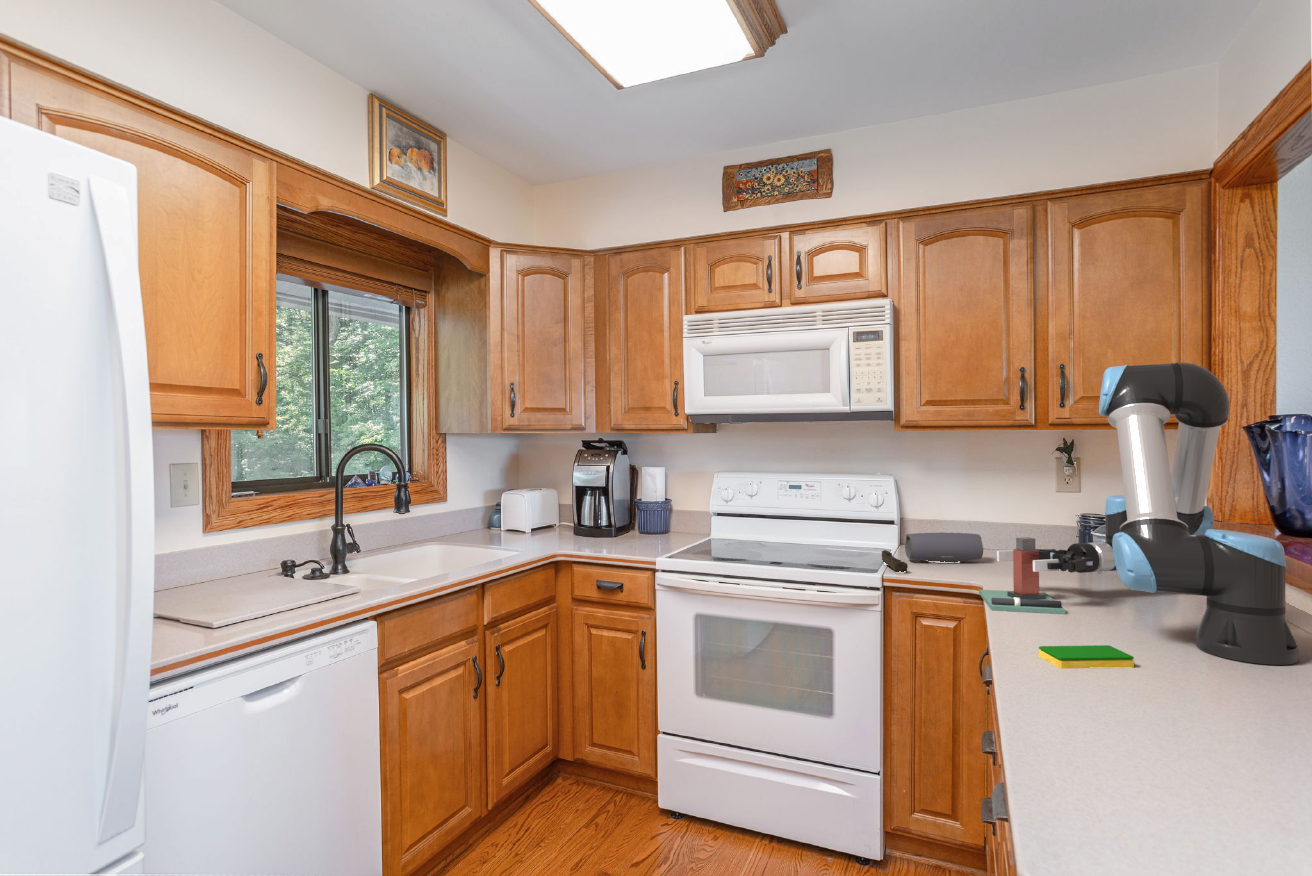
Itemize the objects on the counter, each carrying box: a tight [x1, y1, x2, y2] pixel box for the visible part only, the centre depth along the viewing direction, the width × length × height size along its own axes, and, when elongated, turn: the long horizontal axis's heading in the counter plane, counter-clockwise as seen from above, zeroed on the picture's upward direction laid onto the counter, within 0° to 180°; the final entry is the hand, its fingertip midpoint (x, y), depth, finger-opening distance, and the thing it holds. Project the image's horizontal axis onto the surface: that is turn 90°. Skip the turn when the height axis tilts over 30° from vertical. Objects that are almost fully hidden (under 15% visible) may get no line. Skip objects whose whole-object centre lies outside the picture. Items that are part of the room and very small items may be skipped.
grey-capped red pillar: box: [1006, 537, 1047, 600], centre depth 173 cm, size 5×7×15 cm
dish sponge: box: [1038, 644, 1135, 669], centre depth 128 cm, size 7×14×2 cm, turn 90°
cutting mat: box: [978, 589, 1066, 615], centre depth 172 cm, size 18×16×3 cm
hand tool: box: [881, 549, 909, 573], centre depth 218 cm, size 19×4×5 cm, turn 175°
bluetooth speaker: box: [904, 532, 984, 562], centre depth 226 cm, size 23×9×10 cm, turn 84°
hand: (1015, 560), depth 173 cm, fingers open, 13 cm apart
